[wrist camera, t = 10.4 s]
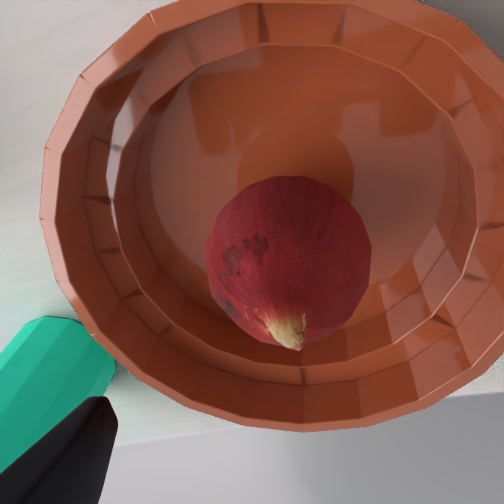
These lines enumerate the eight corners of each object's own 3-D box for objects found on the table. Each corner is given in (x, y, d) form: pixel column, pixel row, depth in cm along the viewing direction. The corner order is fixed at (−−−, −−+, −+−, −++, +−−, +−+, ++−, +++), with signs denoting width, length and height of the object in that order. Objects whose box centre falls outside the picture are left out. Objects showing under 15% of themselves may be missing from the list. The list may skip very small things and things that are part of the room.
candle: (0, 347, 26) (-197, 573, 16) (52, 298, 24) (-143, 531, 14) (79, 403, 28) (-53, 637, 18) (136, 363, 26) (19, 610, 16)
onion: (231, 268, 21) (191, 406, 14) (218, 149, 18) (159, 251, 11) (357, 269, 20) (380, 416, 13) (365, 145, 17) (399, 251, 10)
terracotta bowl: (598, 183, 17) (691, 248, 13) (310, 397, 25) (310, 479, 21) (250, -155, 13) (220, -221, 9) (43, 227, 21) (-24, 286, 17)
